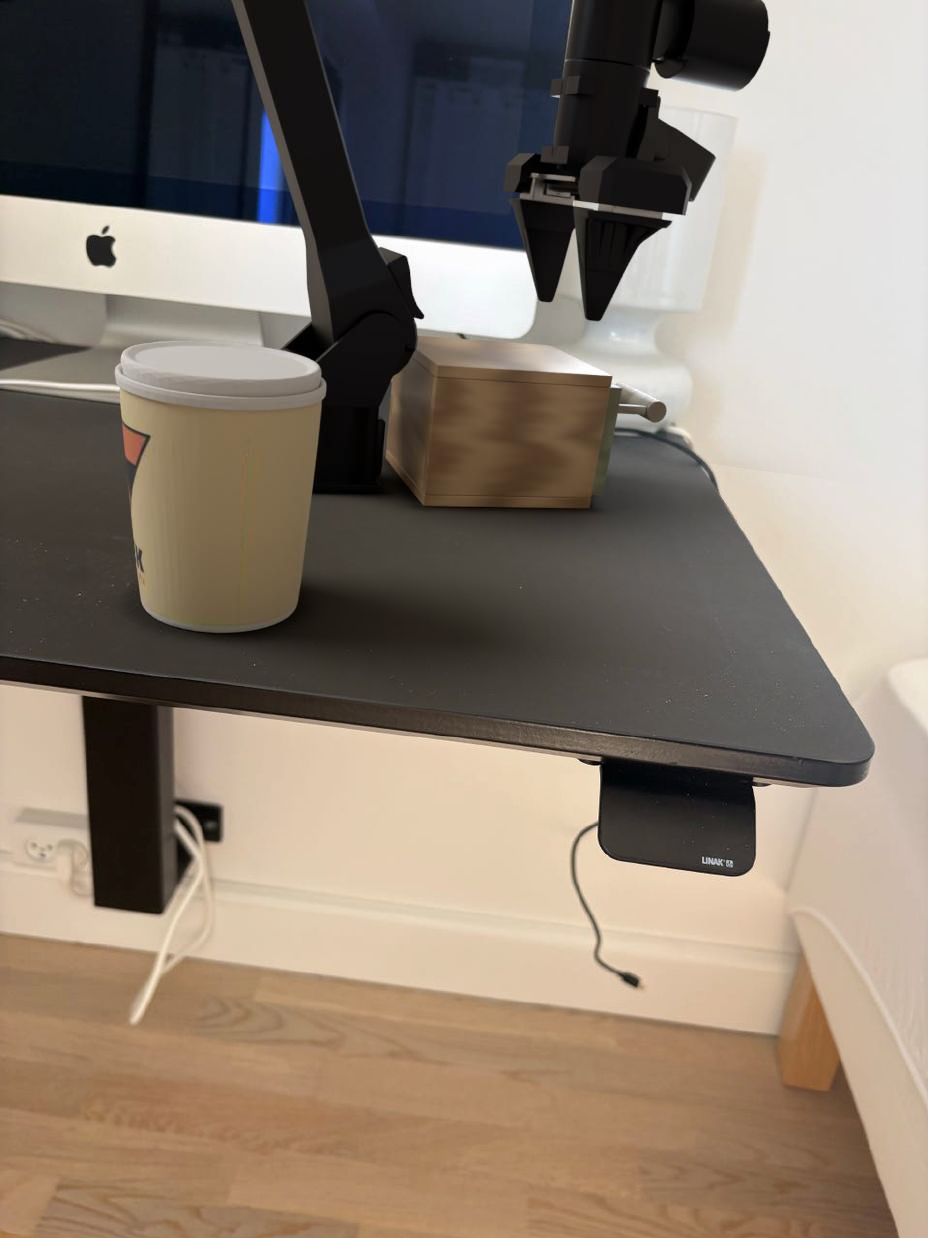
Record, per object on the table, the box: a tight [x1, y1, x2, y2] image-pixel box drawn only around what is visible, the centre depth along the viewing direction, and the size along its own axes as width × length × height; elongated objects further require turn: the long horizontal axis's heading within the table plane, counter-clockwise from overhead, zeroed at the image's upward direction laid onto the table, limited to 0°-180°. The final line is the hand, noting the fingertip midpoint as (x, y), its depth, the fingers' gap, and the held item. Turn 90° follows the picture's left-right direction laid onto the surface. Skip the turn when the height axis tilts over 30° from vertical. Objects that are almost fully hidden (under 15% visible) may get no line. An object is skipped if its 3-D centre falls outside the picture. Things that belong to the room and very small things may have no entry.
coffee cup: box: [114, 340, 326, 634], centre depth 46 cm, size 9×9×12 cm
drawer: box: [592, 382, 668, 495], centre depth 73 cm, size 16×10×8 cm, turn 107°
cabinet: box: [385, 335, 613, 509], centre depth 71 cm, size 13×12×10 cm
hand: (567, 310), depth 71 cm, fingers open, 9 cm apart
